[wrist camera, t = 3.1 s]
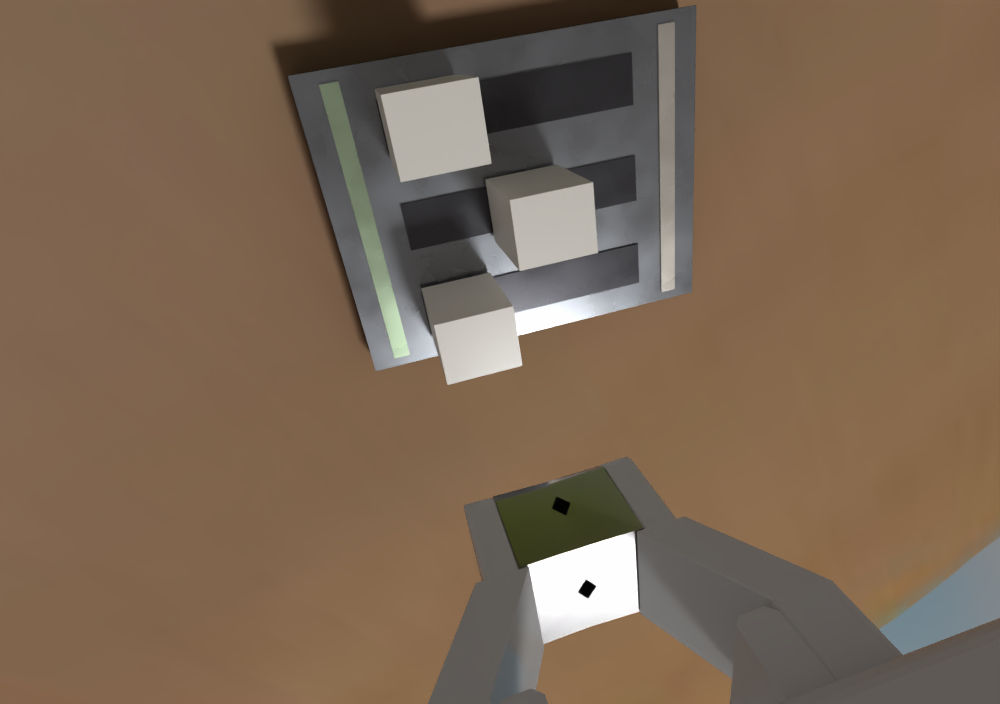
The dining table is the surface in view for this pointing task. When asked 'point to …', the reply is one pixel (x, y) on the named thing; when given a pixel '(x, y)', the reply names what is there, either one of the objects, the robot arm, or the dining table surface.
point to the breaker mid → (543, 216)
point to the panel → (516, 148)
